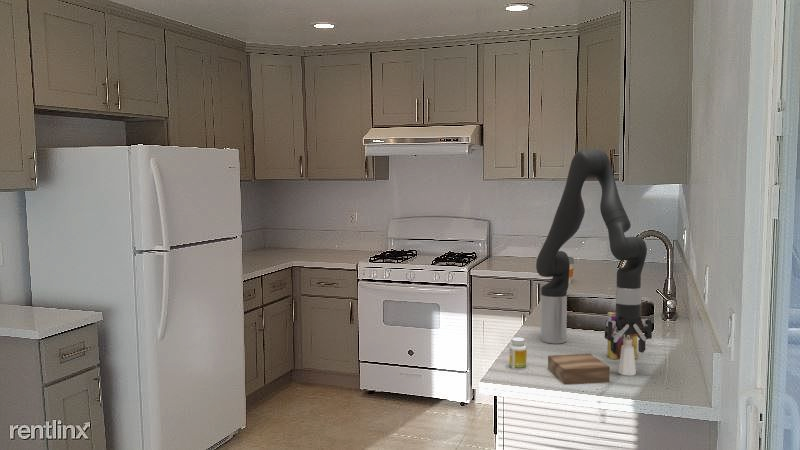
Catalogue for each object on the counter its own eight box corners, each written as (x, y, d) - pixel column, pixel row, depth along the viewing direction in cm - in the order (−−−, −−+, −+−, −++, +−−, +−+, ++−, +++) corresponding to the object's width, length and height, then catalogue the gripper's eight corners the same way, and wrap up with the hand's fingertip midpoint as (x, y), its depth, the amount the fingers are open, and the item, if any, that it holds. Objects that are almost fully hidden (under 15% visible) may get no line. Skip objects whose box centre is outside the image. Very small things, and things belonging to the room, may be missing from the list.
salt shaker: (615, 370, 200) (616, 336, 199) (632, 370, 200) (633, 336, 199) (621, 376, 194) (621, 341, 194) (638, 375, 194) (639, 340, 193)
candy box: (632, 355, 216) (633, 311, 214) (637, 359, 211) (638, 314, 210) (606, 355, 216) (607, 311, 214) (610, 359, 212) (611, 314, 210)
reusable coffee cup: (572, 287, 337) (572, 259, 336) (548, 286, 342) (548, 259, 340) (575, 283, 349) (575, 256, 348) (551, 282, 353) (552, 255, 352)
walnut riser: (548, 371, 202) (548, 355, 201) (589, 368, 203) (590, 353, 203) (564, 385, 188) (564, 369, 187) (609, 383, 189) (609, 366, 189)
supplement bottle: (506, 368, 203) (506, 339, 203) (515, 364, 207) (515, 335, 206) (520, 371, 200) (520, 342, 199) (529, 367, 204) (529, 338, 203)
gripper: (644, 298, 199) (643, 348, 201) (601, 300, 198) (600, 350, 199) (656, 302, 192) (655, 355, 193) (611, 304, 191) (611, 357, 192)
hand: (627, 352), depth 196 cm, fingers open, 8 cm apart
